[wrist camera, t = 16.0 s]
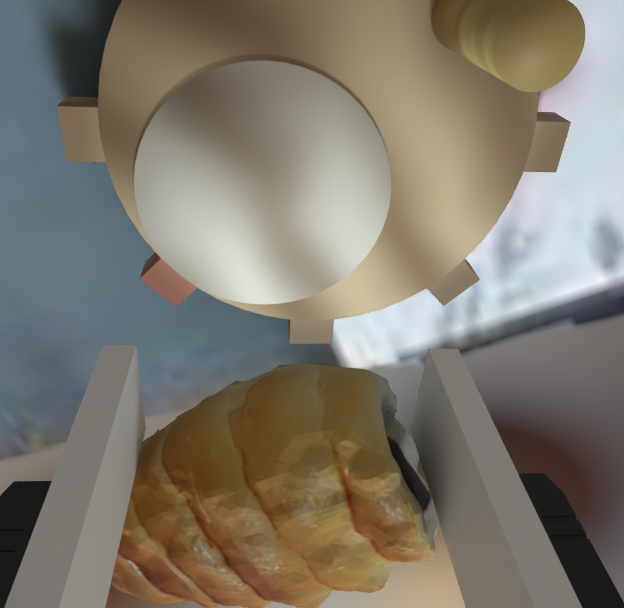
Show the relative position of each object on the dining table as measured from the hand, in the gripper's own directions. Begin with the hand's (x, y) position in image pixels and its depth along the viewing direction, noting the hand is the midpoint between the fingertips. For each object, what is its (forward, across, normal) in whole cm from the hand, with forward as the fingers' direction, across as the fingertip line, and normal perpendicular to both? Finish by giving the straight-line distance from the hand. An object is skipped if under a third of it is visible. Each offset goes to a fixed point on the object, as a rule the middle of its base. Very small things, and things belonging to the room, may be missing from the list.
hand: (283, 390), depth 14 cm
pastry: (+1, 0, -3) cm, 3 cm away
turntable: (+14, +2, +3) cm, 15 cm away
